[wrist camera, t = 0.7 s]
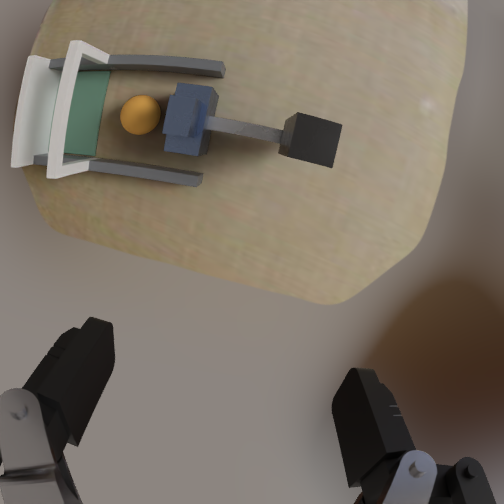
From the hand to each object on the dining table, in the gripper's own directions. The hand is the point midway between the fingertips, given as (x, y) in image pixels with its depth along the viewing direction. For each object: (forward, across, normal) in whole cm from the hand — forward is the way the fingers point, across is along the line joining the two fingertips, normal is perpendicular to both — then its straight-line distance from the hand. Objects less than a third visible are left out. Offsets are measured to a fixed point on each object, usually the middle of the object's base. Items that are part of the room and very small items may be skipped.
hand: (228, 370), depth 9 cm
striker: (+23, +2, -7) cm, 24 cm away
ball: (+21, +12, -7) cm, 25 cm away
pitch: (+23, +15, -7) cm, 29 cm away
